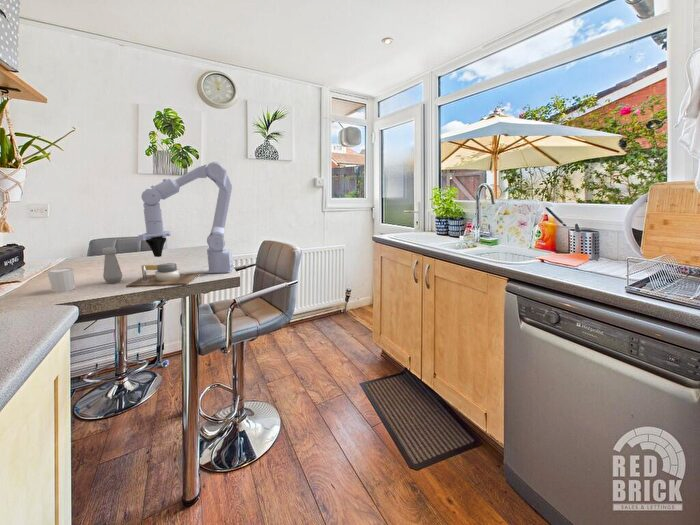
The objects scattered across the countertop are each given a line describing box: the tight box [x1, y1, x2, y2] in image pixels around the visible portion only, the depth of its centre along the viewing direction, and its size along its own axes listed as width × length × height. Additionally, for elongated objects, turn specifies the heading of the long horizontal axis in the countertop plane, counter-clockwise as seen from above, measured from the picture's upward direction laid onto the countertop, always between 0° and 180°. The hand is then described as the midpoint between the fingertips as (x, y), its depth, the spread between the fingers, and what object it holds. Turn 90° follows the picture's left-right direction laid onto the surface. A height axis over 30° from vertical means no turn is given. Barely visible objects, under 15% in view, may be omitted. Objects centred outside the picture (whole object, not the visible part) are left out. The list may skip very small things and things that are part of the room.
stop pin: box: [141, 265, 150, 283], centre depth 121 cm, size 3×3×6 cm
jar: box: [154, 268, 181, 281], centre depth 126 cm, size 8×8×3 cm
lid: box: [141, 262, 178, 272], centre depth 125 cm, size 12×6×2 cm, turn 90°
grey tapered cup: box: [46, 267, 76, 293], centre depth 113 cm, size 7×7×7 cm
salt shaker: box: [101, 246, 123, 284], centre depth 122 cm, size 6×6×13 cm
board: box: [125, 272, 201, 288], centre depth 126 cm, size 20×16×1 cm
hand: (157, 256), depth 130 cm, fingers closed
